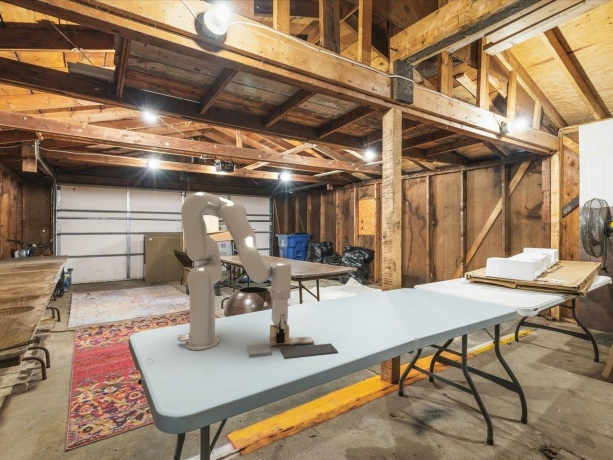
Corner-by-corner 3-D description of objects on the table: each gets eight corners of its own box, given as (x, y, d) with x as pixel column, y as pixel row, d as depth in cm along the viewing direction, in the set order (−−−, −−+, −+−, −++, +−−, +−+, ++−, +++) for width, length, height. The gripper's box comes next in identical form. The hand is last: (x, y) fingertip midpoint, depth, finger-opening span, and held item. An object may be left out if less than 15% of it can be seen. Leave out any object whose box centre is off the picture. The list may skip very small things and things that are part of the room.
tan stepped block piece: (271, 345, 115) (271, 328, 115) (269, 340, 120) (269, 324, 120) (314, 342, 119) (314, 326, 119) (310, 338, 124) (311, 322, 124)
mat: (284, 358, 106) (284, 357, 106) (280, 349, 114) (280, 348, 114) (337, 353, 111) (337, 351, 111) (330, 344, 119) (330, 343, 119)
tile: (247, 350, 115) (249, 359, 107) (247, 346, 115) (249, 354, 107) (268, 347, 117) (271, 356, 109) (268, 343, 117) (271, 351, 109)
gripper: (268, 289, 125) (267, 333, 125) (274, 299, 109) (272, 350, 109) (286, 289, 127) (285, 332, 127) (294, 298, 111) (293, 348, 111)
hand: (279, 340), depth 118 cm, fingers closed on tan stepped block piece, 3 cm apart
